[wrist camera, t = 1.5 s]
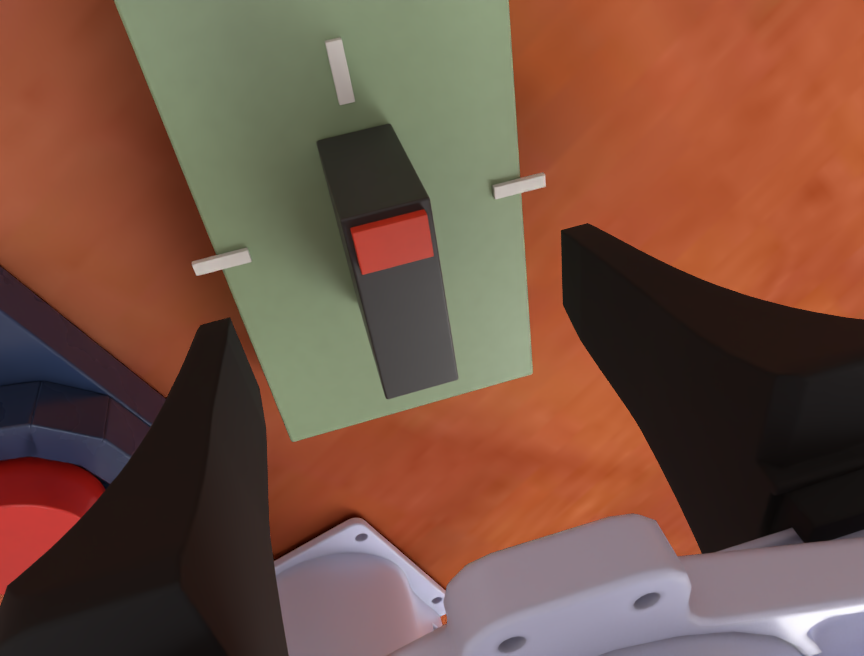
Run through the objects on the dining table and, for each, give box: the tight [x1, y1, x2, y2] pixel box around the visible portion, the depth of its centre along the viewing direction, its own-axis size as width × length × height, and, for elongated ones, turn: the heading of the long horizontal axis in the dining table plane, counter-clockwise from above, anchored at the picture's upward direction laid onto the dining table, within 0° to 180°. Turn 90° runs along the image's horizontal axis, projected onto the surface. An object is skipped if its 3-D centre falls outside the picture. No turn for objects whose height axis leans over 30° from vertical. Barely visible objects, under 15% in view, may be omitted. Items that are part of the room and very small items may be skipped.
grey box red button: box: [0, 266, 166, 490], centre depth 22 cm, size 12×7×4 cm, turn 28°
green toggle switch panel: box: [114, 0, 546, 442], centre depth 19 cm, size 14×9×3 cm, turn 8°
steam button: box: [0, 457, 105, 595], centre depth 20 cm, size 4×4×2 cm
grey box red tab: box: [316, 124, 458, 399], centre depth 17 cm, size 5×2×4 cm, turn 8°
